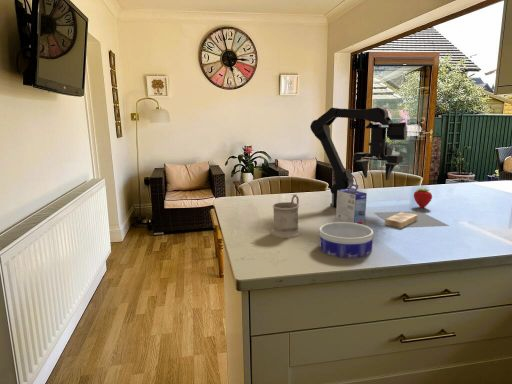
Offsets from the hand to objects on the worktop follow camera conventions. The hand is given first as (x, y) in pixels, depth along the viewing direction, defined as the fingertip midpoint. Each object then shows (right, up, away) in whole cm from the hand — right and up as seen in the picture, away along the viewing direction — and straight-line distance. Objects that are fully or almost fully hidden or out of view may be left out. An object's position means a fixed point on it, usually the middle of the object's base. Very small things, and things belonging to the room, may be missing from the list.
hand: (376, 179), depth 144 cm
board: (+8, -14, -12) cm, 20 cm away
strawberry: (+20, -12, +4) cm, 24 cm away
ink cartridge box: (-15, -17, -16) cm, 28 cm away
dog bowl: (-22, -22, -39) cm, 50 cm away
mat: (+8, -16, -12) cm, 21 cm away
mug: (-37, -19, -22) cm, 47 cm away
